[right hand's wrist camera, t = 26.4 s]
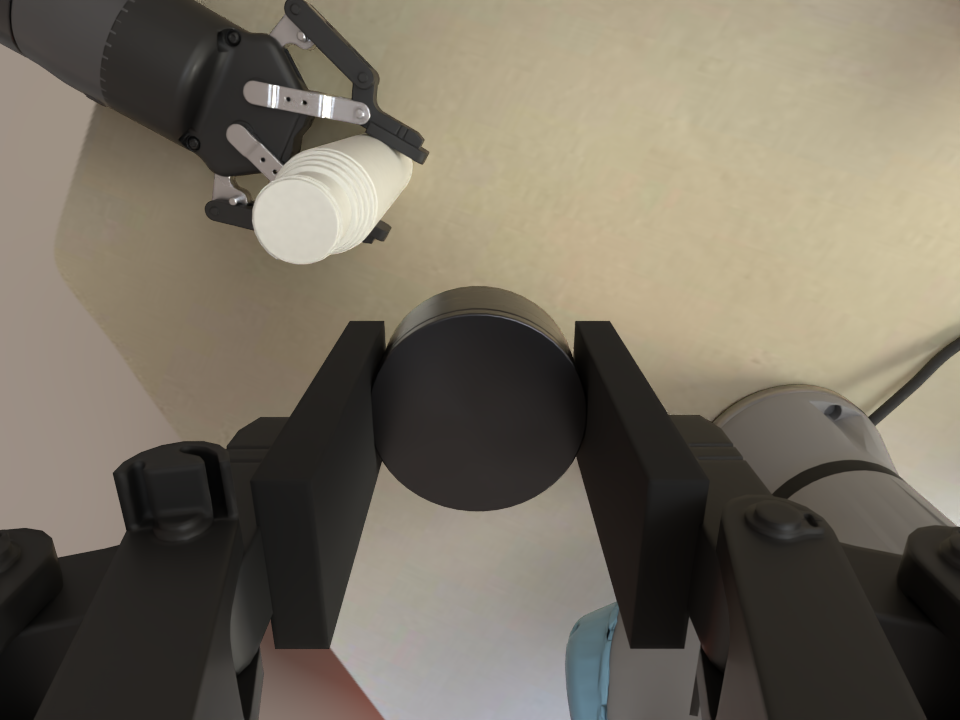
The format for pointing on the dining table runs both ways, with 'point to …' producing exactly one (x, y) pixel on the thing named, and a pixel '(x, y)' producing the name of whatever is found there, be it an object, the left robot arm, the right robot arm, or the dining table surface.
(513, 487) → the cap
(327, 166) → the bottle
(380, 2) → the dining table surface
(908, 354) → the dining table surface
